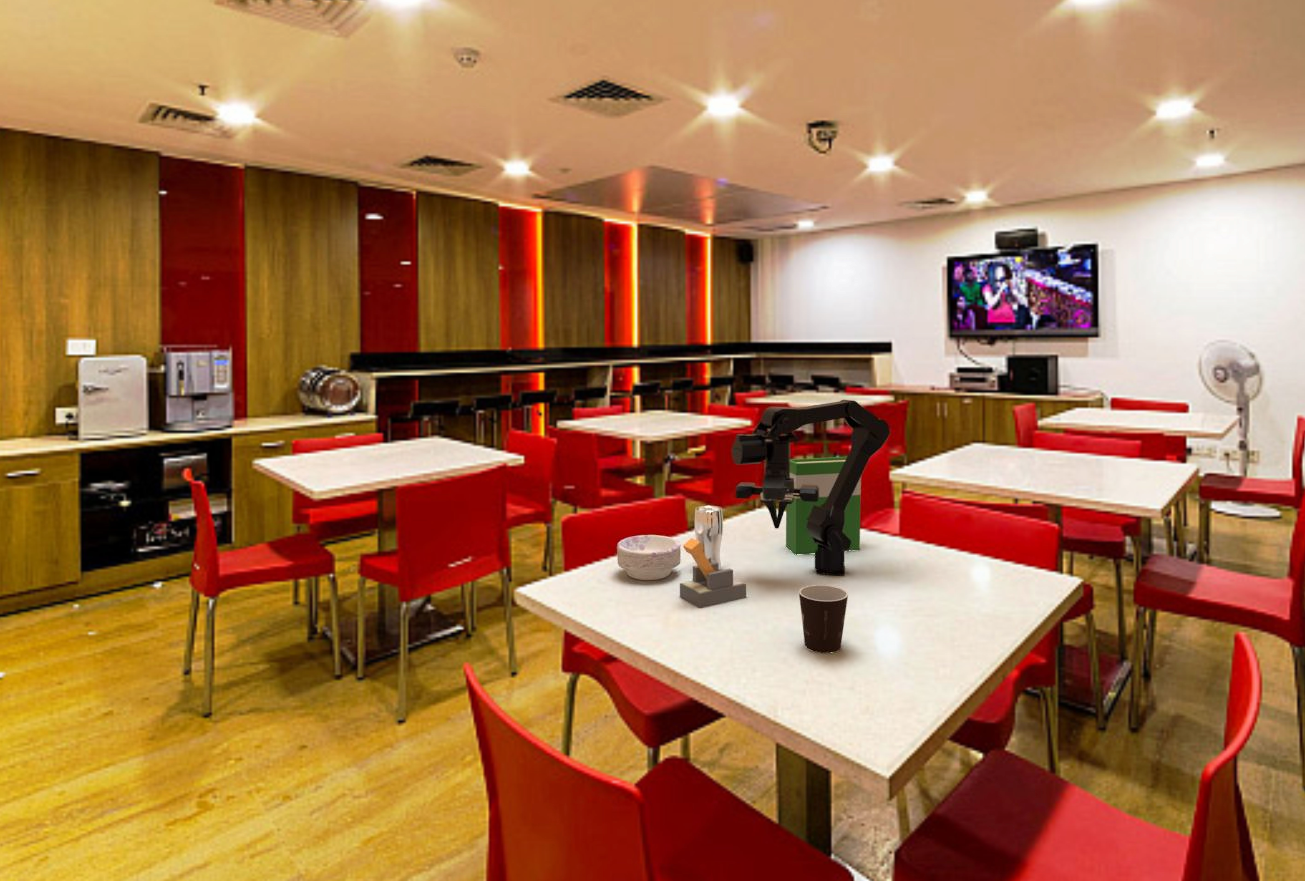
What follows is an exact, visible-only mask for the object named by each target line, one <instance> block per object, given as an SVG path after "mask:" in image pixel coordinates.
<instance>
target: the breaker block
mask: <svg viewBox="0 0 1305 881" xmlns="http://www.w3.org/2000/svg"><path fill="white" fill-rule="evenodd" d="M710 564H711V566H712V567H713V569H714V571H715V572H710V573H707V580H706V578H705V577H704V575H703V573H702V572H701V570H700V568H699V567H698V566H697V565H693V566H692V580H690V581H686V582H680V583H679V597H680V598H681V599H683V600H685V601H687V602H689V603H690V604H692V605H694V606H696V607H697V608H698V609H701V608H705V607H710V606H714V605H718V604H723V603H727V602H731V601H735V600H741V599H745V598H747V583H745V582H743V581H740V580H738V579H736V578H734V570H733V569H732V568H727V569H726V568H725V569H720V570H719V563H716V562H713V563H710Z"/></svg>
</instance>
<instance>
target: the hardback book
mask: <svg viewBox="0 0 1305 881" xmlns="http://www.w3.org/2000/svg"><path fill="white" fill-rule="evenodd" d="M846 458H847V456H836V457H814V458H811V457H810V458H796V459H795V458H790V478H794V488H799V489H800V488H801V486H802V485H817V486H818V487H819V499H818V501H816V502H810V501H803V500H802V499H801V498H800V497H796V496H794V500H793V503H792V504H787V506H786V508H785V548H786V547H787V548H788V549H787V548H786V549H787V550H789V551H790V550H791V551H792V552H791V551H790V552H791V553H792V554H794V555H795V554H796V555H795V556H798V555H797V554H804V555H810V554H809V553H815V550H817V547H818V544H817V543H814V541H813V539H812V536H810V534H809V533H808V530H807V523H808V520H806V519H807V518H808V517H809V515H810V514H811V511H812V508H813V506H814V505H816V506H819V507H820V506H821V505H822V504H824V503H825V502H826V500H827V498H828V496H829V494H830V492H831V490H832V487H833V485H834V483H835V481H836V479H837V477H838V475H839V473H840V471H841V469H842V467H843V465H844V462H845V460H846ZM861 486H862V477H861V478H860V480H859V482H858V484H857V486H856V488H855V490H854V492H853V494H852V496H851V498H850V501H849V503H848V505H847V507H846V509H845V525H844V528H843V531H842V532H843V533H844V534H845V535H846V536H847V537H848V538H849V539H850V540H851V545H850V548H849V550H860V547H861V545H860V544H861V542H860V541H861V500H862V499H861V498H862V496H861V492H862V489H861V488H862V487H861ZM849 550H845V551H847V552H850V551H849Z"/></svg>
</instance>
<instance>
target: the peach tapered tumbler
mask: <svg viewBox="0 0 1305 881" xmlns="http://www.w3.org/2000/svg"><path fill="white" fill-rule="evenodd" d="M694 513H695V514H694V535H695V540H697V541H700V542H701V544H702V545H703V547H704V549H703V550H702V551H703V552H704V554H705V556H706V557H707V559H708V561H709V562H710V563H713V562H716V563H719V571H720V570H722V568H723V566H722V562H721V546H722V541H723V533H724V517H723V508H722V507H721V506H718V505H717V506H716V505H701V506H697V507H695V509H694ZM696 566H698V565H697V564H696Z"/></svg>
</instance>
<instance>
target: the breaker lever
mask: <svg viewBox="0 0 1305 881" xmlns="http://www.w3.org/2000/svg"><path fill="white" fill-rule="evenodd" d="M682 547H683V549H684V550H685V551H686V553H688V554H690V555H691V557H692V559H693V560H694V562H695V563H696V566H697V565H698V567H699V568H700V570H701V572H702V573H703V575H704V577H705V578H706V580H707V573H710V572H715V571H714V569H713V567H712V566H711V564H710V562H709V561H708V559H707V557H706V556H705V554H704V552H703V551H702V550H703V549H704V547H703V545H702V544H701V542H700V541H697V540H696V538H693V537H691V538H690V539H688V540H687V541H686V542H685V543H684V544H682Z"/></svg>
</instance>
